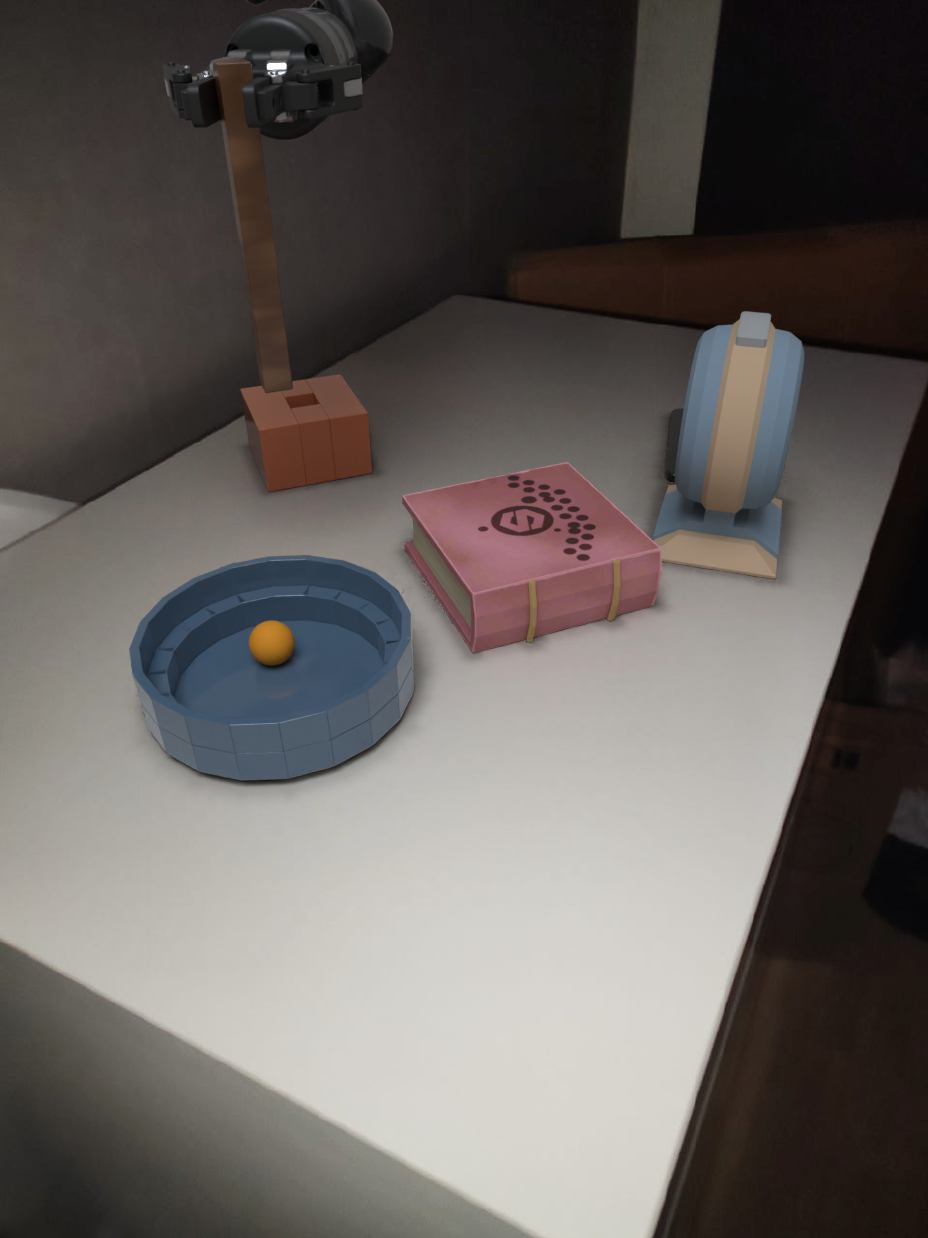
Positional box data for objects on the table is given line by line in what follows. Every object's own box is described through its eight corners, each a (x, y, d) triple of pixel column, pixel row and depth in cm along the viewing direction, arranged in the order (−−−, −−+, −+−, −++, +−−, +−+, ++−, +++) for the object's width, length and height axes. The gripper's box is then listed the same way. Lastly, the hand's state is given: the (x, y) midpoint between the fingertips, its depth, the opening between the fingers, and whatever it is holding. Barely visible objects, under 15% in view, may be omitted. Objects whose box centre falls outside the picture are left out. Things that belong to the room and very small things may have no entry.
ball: (256, 679, 60) (249, 643, 58) (248, 652, 62) (241, 617, 60) (301, 668, 61) (296, 633, 59) (292, 642, 63) (286, 607, 61)
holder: (268, 492, 82) (258, 430, 78) (249, 447, 89) (239, 388, 85) (372, 473, 84) (368, 412, 81) (346, 431, 92) (340, 373, 88)
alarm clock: (669, 482, 82) (697, 281, 72) (782, 497, 80) (828, 292, 69) (645, 565, 71) (674, 344, 61) (774, 586, 69) (827, 359, 58)
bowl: (162, 820, 51) (142, 757, 48) (137, 643, 64) (121, 585, 61) (450, 742, 56) (449, 680, 53) (373, 592, 69) (368, 536, 66)
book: (477, 660, 62) (477, 601, 59) (404, 550, 74) (401, 495, 71) (659, 612, 66) (668, 554, 63) (564, 514, 78) (567, 461, 75)
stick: (265, 393, 64) (216, 63, 52) (260, 383, 66) (211, 59, 54) (293, 389, 65) (251, 61, 53) (287, 379, 66) (245, 58, 54)
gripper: (186, 10, 64) (87, 29, 50) (383, 8, 63) (337, 28, 50) (205, 129, 69) (119, 178, 55) (389, 130, 68) (349, 179, 54)
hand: (223, 106), depth 52 cm, fingers closed on stick, 2 cm apart
